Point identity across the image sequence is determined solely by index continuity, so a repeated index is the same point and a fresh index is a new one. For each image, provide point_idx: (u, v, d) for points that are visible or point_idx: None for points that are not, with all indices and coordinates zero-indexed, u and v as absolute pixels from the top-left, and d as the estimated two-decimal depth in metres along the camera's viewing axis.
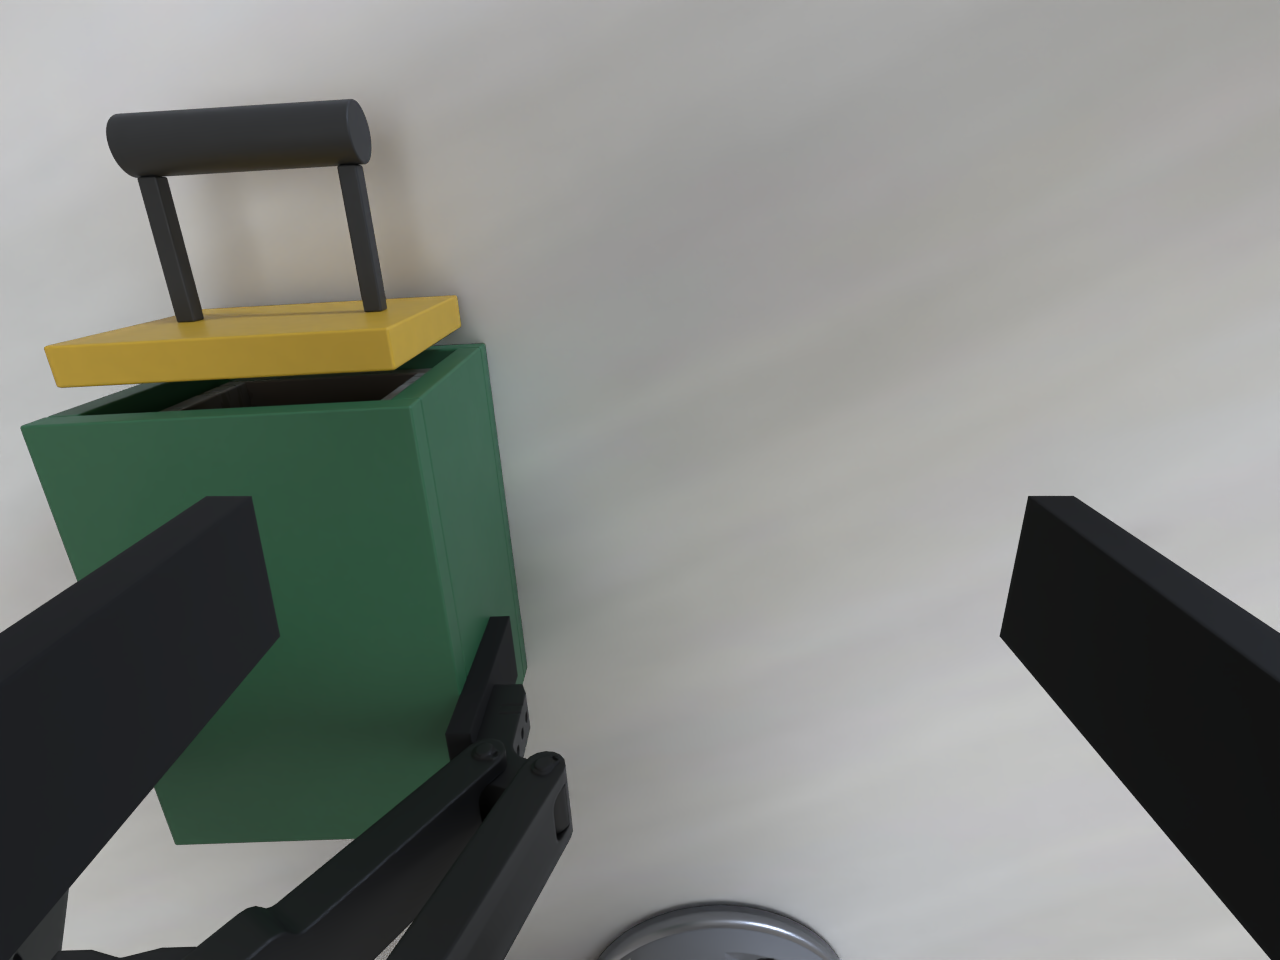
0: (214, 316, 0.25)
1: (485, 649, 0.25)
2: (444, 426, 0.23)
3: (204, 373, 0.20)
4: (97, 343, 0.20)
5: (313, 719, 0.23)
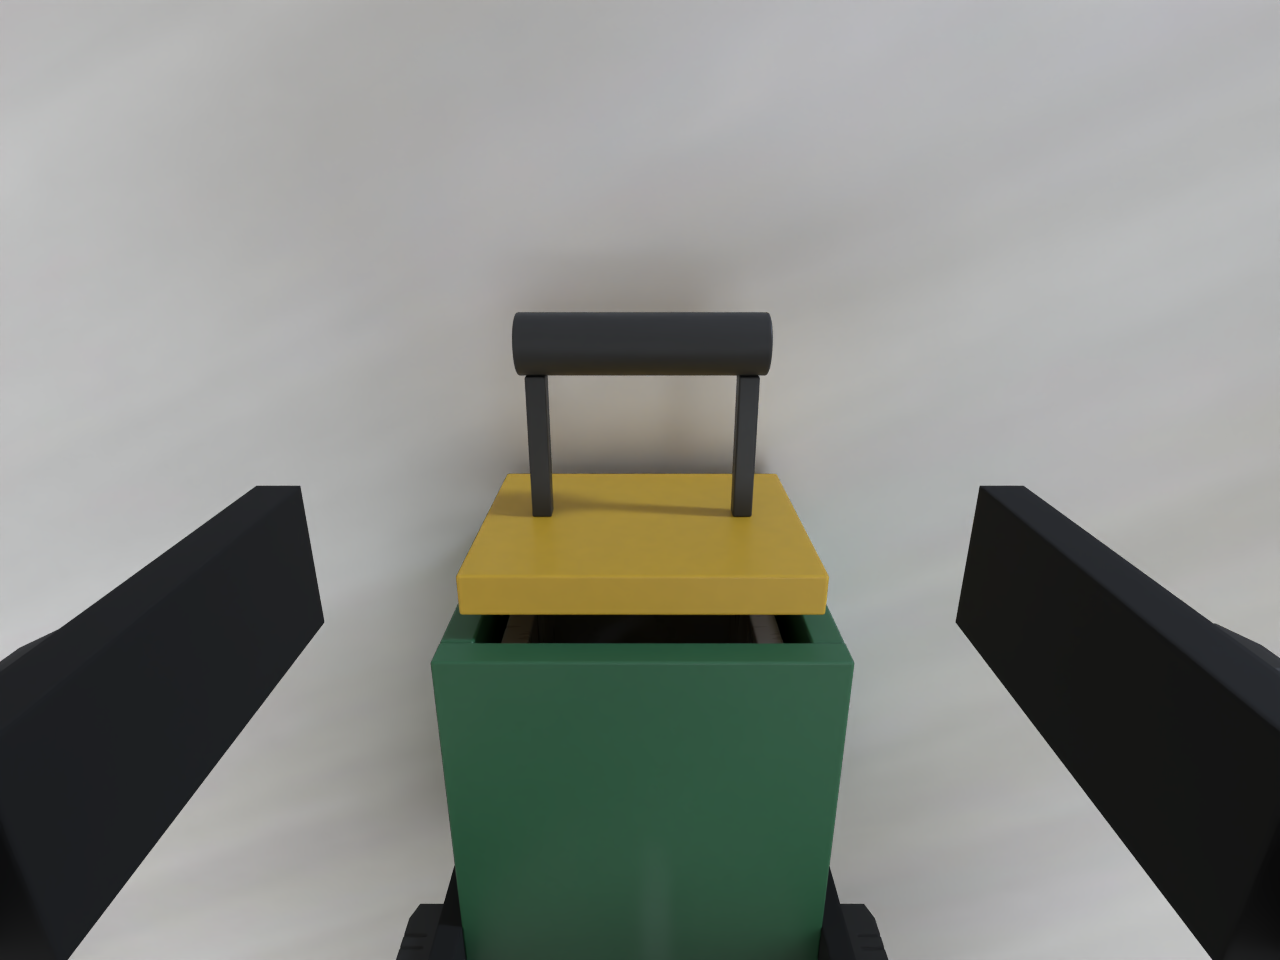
0: (553, 501, 0.24)
1: None
2: None
3: (622, 609, 0.19)
4: (513, 574, 0.19)
5: (661, 944, 0.22)
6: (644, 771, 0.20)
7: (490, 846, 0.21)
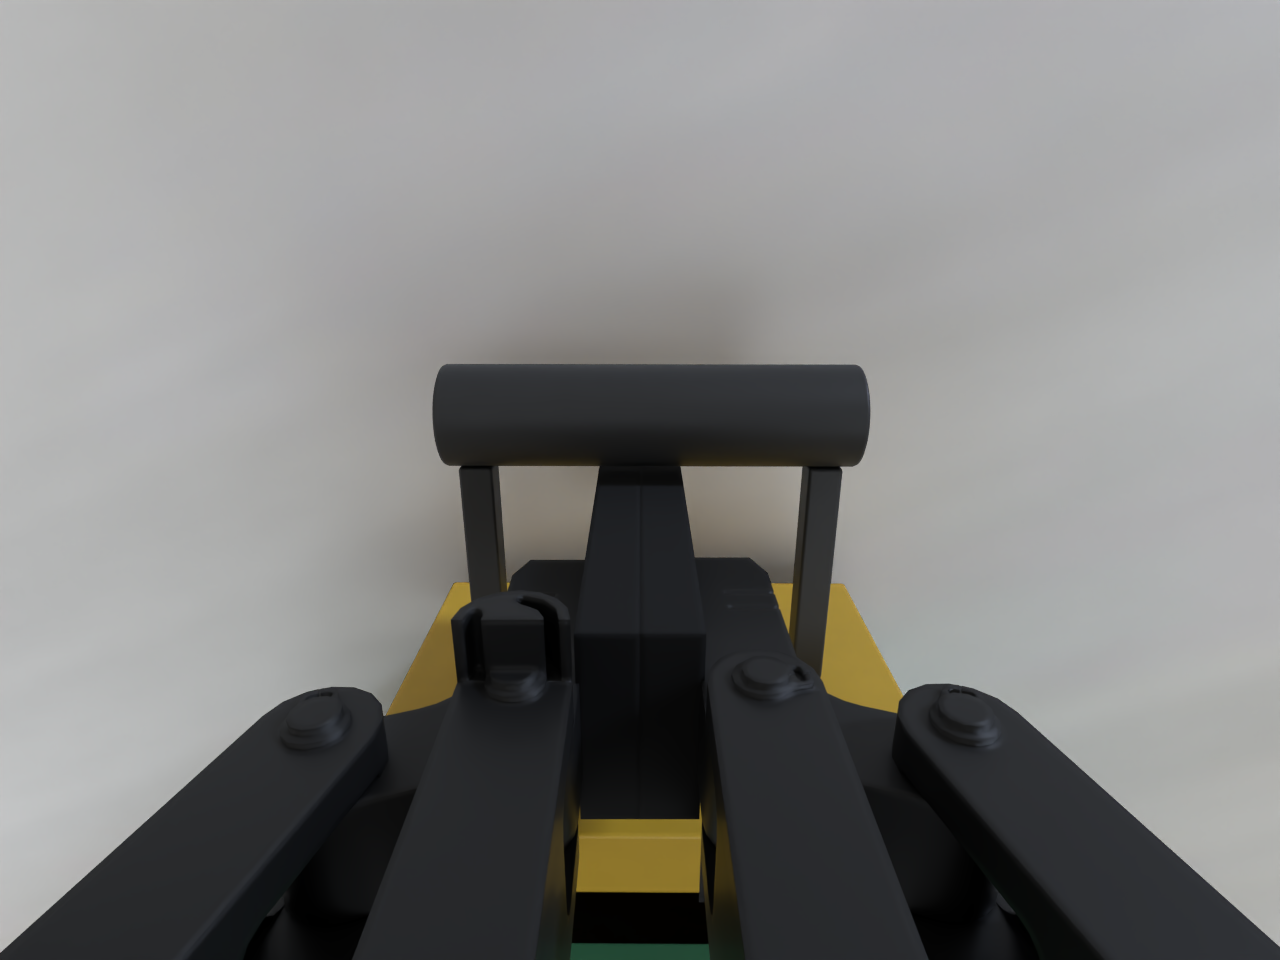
0: None
1: None
2: None
3: (615, 884, 0.11)
4: None
5: None
6: None
7: None
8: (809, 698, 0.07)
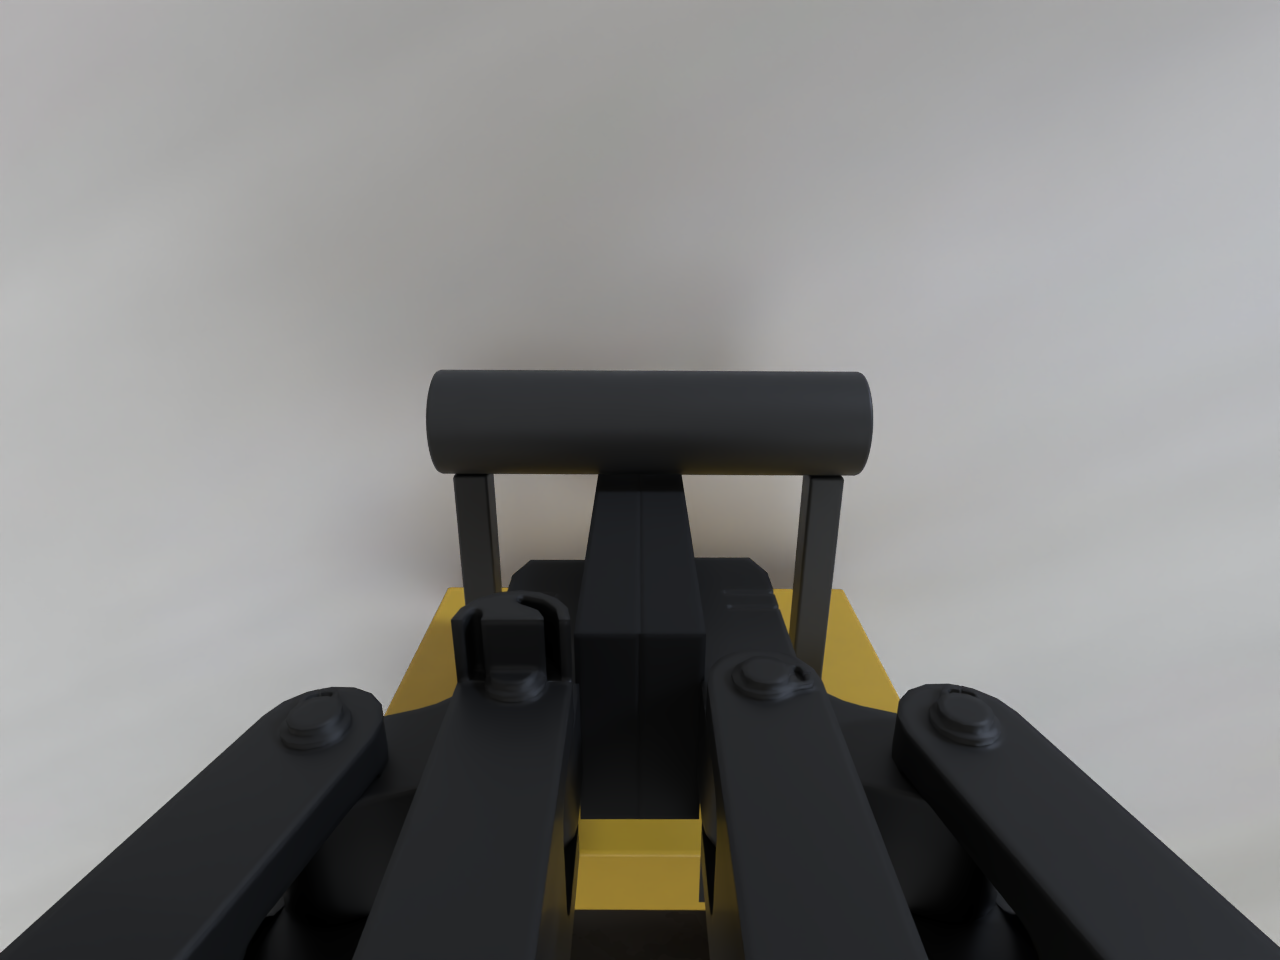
0: None
1: None
2: None
3: (613, 902, 0.11)
4: None
5: None
6: None
7: None
8: (809, 698, 0.07)
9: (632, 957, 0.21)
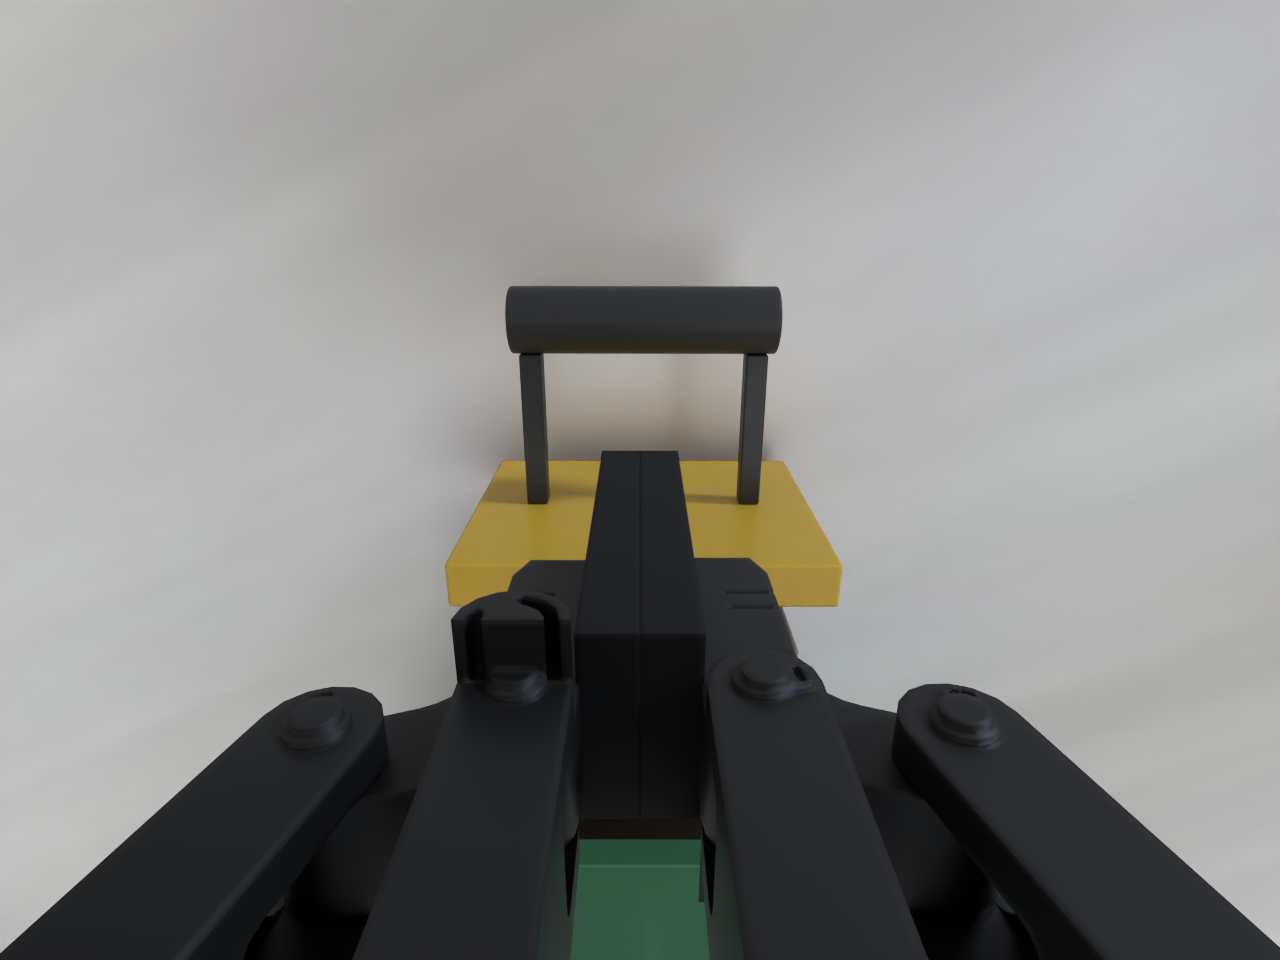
0: (550, 488, 0.22)
1: None
2: None
3: None
4: (506, 563, 0.18)
5: None
6: (644, 956, 0.21)
7: None
8: (809, 698, 0.07)
9: None
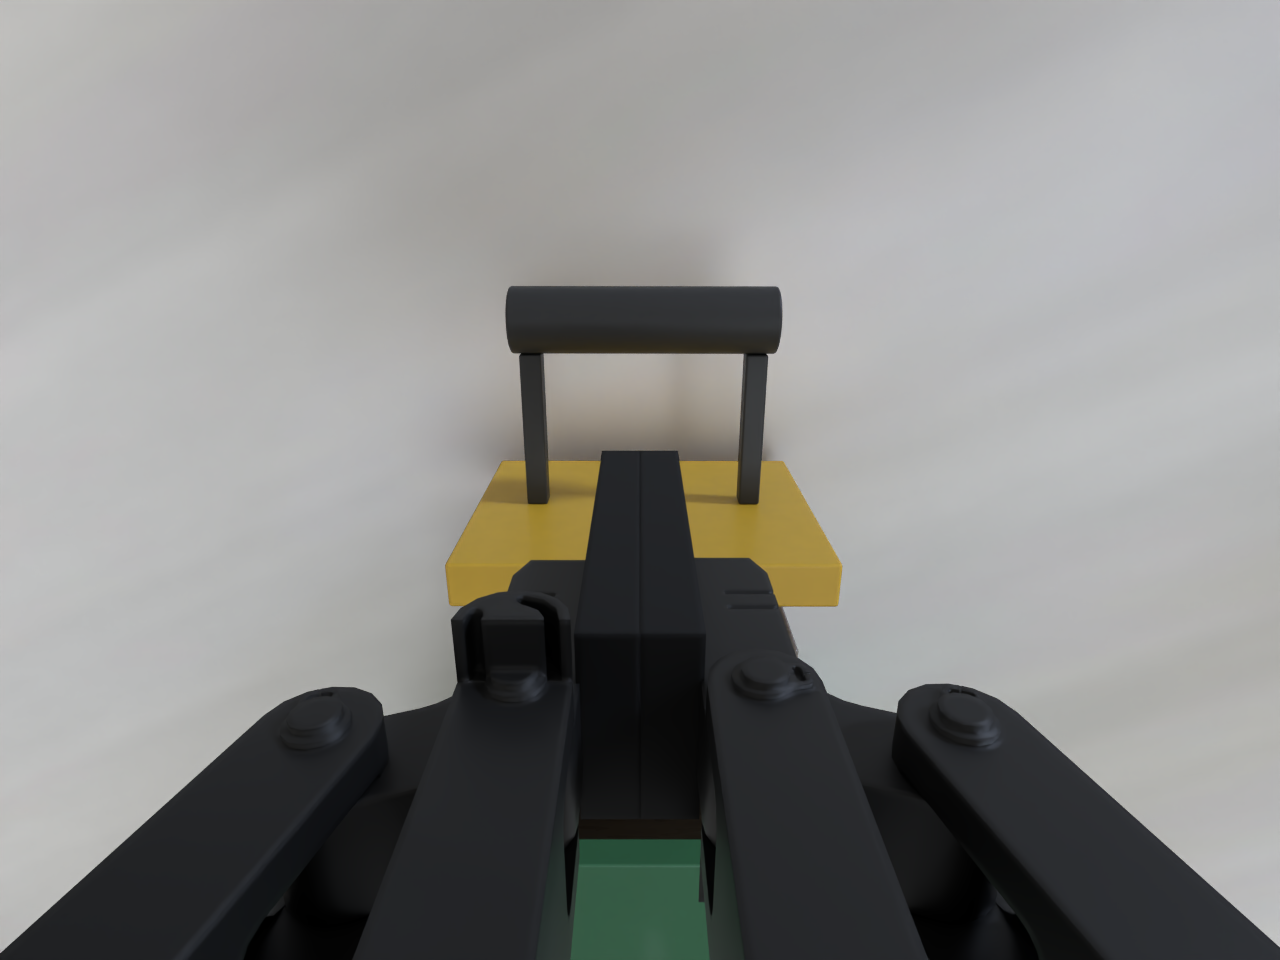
0: (550, 488, 0.22)
1: None
2: None
3: None
4: (506, 562, 0.18)
5: None
6: (644, 956, 0.21)
7: None
8: (809, 698, 0.07)
9: None
